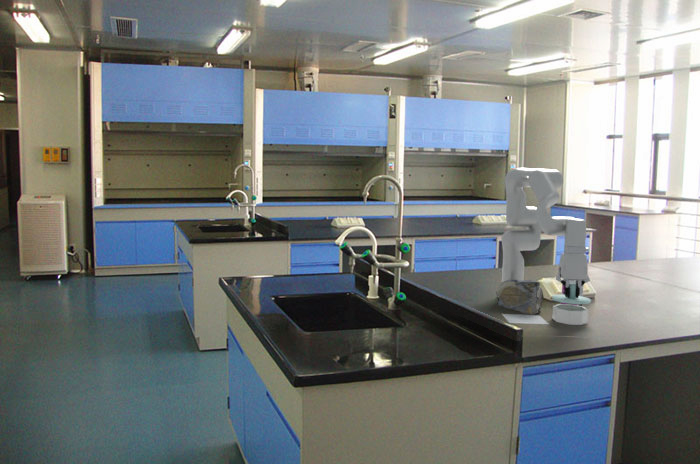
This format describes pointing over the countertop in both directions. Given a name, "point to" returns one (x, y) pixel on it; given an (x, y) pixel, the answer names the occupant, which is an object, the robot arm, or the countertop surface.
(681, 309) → the countertop surface
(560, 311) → the bowl
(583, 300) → the lid
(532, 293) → the fossil rock
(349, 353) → the countertop surface
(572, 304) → the supplement can
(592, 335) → the countertop surface
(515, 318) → the mat
